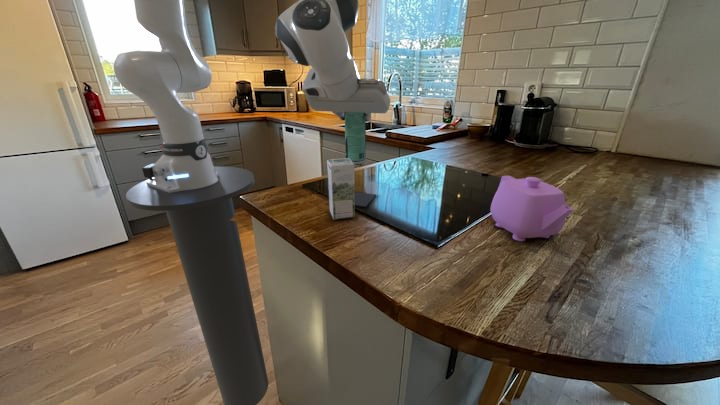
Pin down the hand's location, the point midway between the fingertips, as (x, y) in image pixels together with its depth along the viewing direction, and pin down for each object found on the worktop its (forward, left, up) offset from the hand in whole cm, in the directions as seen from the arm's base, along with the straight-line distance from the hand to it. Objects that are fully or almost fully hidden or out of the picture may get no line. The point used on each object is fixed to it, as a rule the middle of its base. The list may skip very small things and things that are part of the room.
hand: (355, 119), depth 78 cm
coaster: (0, -1, -23) cm, 23 cm away
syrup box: (0, -11, -23) cm, 26 cm away
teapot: (+43, -5, -23) cm, 49 cm away
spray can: (0, -1, -12) cm, 12 cm away
